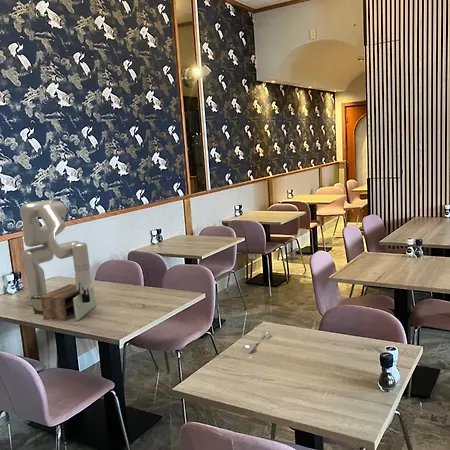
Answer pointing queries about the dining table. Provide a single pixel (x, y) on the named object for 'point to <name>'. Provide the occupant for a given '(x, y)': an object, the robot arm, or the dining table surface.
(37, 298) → the food container
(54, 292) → the wooden shelf
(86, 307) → the cabinet door
